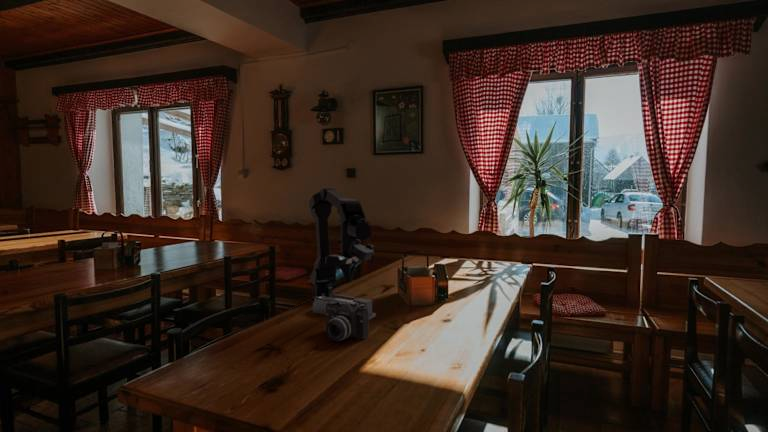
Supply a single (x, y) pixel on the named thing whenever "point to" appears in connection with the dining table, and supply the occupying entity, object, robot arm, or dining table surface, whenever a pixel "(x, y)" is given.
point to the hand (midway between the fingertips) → (349, 282)
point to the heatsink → (320, 304)
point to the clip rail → (371, 316)
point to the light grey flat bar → (335, 299)
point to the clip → (365, 303)
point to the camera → (346, 320)
